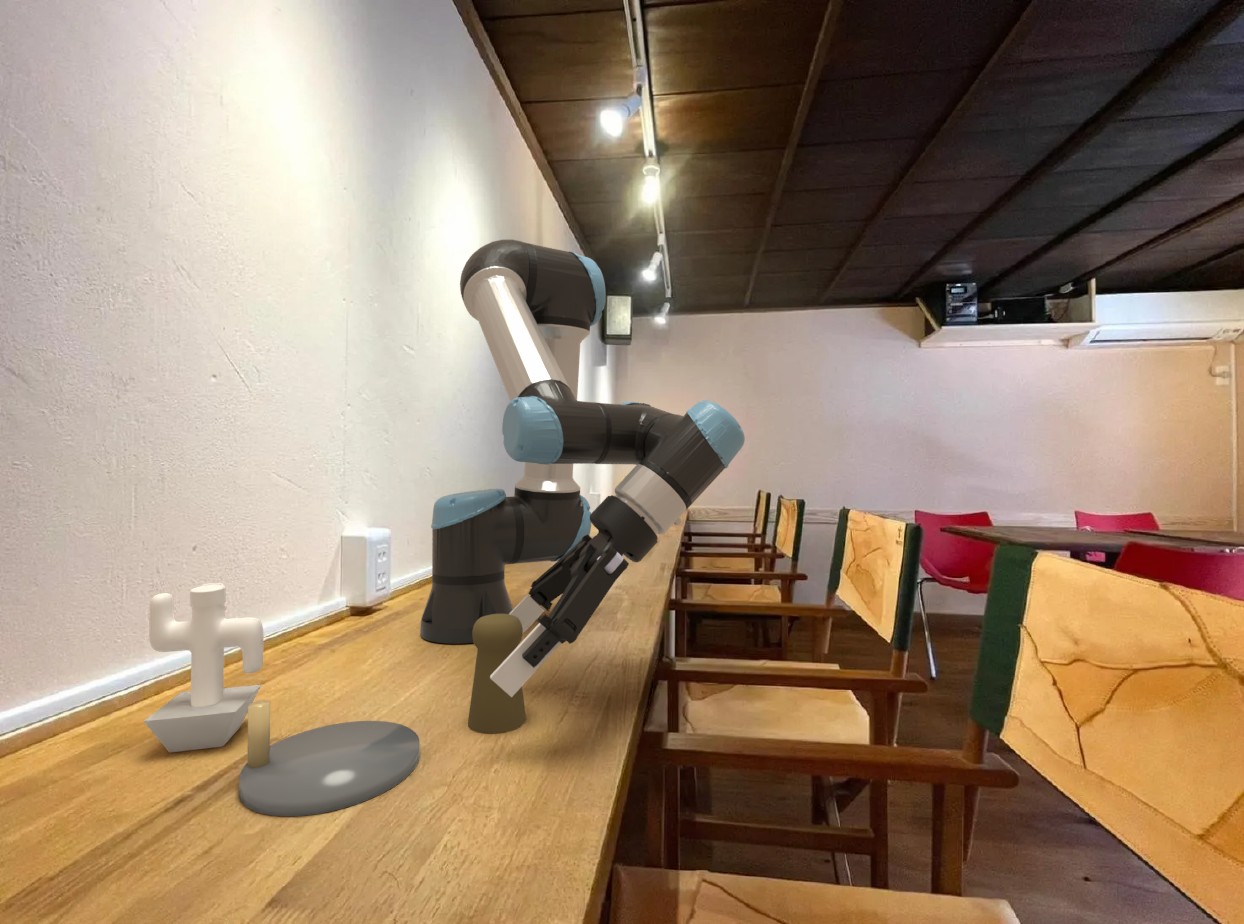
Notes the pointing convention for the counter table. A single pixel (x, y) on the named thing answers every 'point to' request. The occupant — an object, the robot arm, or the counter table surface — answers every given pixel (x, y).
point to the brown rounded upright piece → (489, 700)
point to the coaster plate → (323, 765)
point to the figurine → (204, 669)
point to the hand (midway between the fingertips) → (497, 663)
